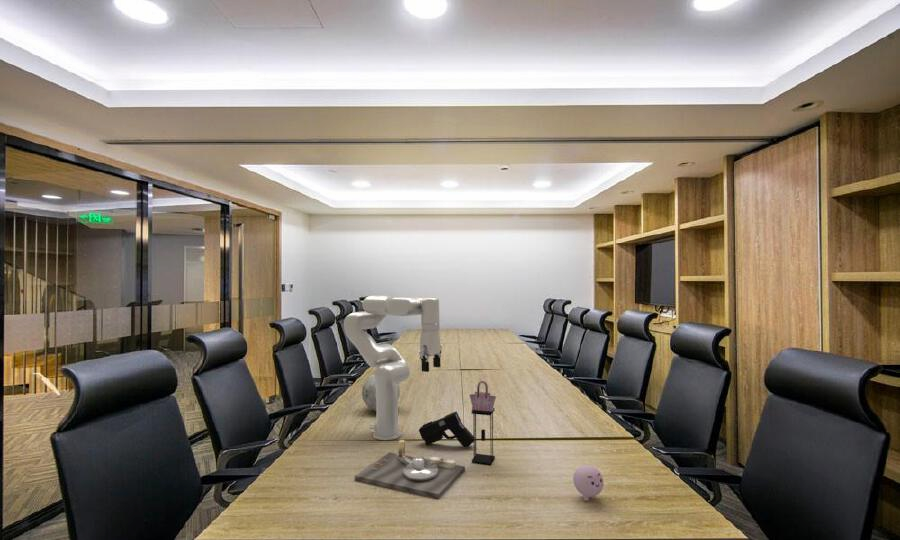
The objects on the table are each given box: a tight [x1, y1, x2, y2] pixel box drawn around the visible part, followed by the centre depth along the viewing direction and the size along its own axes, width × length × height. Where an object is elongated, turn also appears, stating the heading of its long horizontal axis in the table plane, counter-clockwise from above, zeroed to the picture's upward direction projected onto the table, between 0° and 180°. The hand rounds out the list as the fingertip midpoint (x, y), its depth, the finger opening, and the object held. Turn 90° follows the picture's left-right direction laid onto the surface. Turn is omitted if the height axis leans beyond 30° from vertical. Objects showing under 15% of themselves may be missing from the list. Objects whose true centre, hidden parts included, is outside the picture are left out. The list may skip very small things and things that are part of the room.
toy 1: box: [418, 411, 474, 449], centre depth 179 cm, size 5×20×15 cm, turn 78°
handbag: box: [469, 380, 497, 466], centre depth 164 cm, size 10×8×30 cm
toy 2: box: [572, 464, 604, 502], centre depth 135 cm, size 9×9×10 cm
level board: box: [354, 452, 466, 500], centre depth 152 cm, size 32×22×4 cm
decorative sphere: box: [361, 373, 401, 412], centre depth 228 cm, size 20×20×20 cm
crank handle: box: [395, 439, 438, 481], centre depth 154 cm, size 23×12×7 cm, turn 36°
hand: (431, 369), depth 178 cm, fingers open, 9 cm apart
